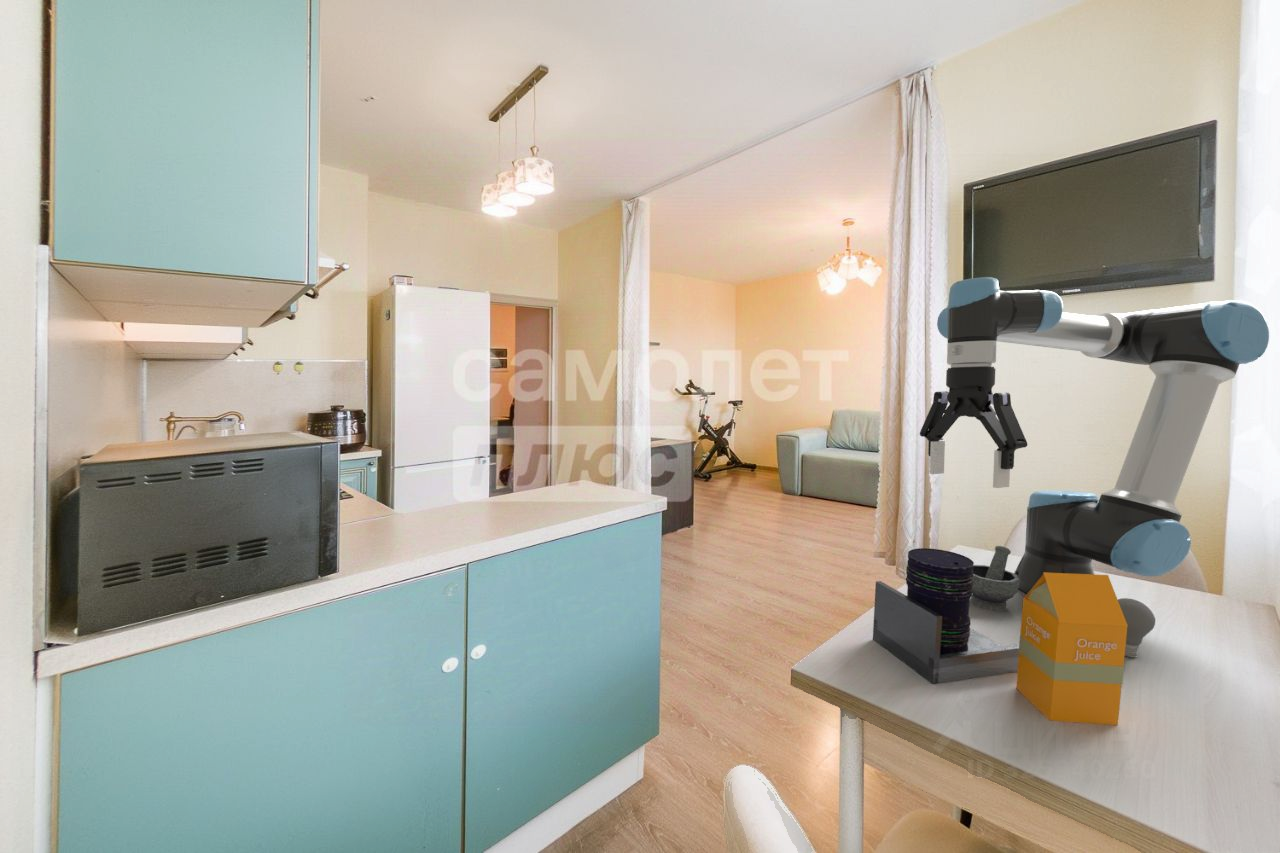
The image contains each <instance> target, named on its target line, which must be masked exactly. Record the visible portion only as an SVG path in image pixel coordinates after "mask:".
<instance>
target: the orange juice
mask: <svg viewBox="0 0 1280 853" xmlns="http://www.w3.org/2000/svg"><path fill="white" fill-rule="evenodd" d="M1043 573H1044V574H1043V575H1042V576H1041V578H1040V579H1039V580H1038V581H1037V583H1036V584H1035V585H1034V586H1033V588H1032V589H1031V590H1030V591H1029V593H1026V595H1025V596H1024V597H1023V598H1022V611H1021V612H1022V613H1021V624H1020V635H1019V642H1018V646H1019V660H1018V671H1017V673H1016V674H1017V676H1016V677H1017V678H1016V687H1015V688H1016V690H1017V691H1019V692H1020V693H1021V694H1022V696H1024V697H1025V698H1026V699H1027V701H1029V702H1030V703H1031V704H1032V705H1033V706H1034V707H1036V709H1037V710H1039V711H1040V712H1041V713H1042V714H1043V715H1044V716H1045V717H1046V718H1047V719H1048V720H1049V721H1051V722H1052V721H1053V722H1067V723H1069V722H1070V723H1079V724H1081V723H1082V724H1083V723H1084V724H1094V725H1095V724H1097V725H1107V726H1108V725H1111V726H1112V725H1113V726H1118V725H1119V715H1120V706H1121V694H1122V685H1123V682H1124V671H1125V666H1124V665H1125V657H1126V656H1125V646H1126V636H1127V626H1128V625H1127V623H1126V620H1125V618H1124V615H1123V612H1122V610H1121V607H1120V605H1119V602H1118V597H1117V595H1116V592H1115V589H1114V587H1113V585H1112V584H1113V583H1112V582H1111V579H1110V577H1109V574H1095V573H1094V574H1095V575H1094V574H1070V573H1047V572H1043Z"/></svg>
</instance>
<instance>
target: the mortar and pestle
mask: <svg viewBox="0 0 1280 853" xmlns="http://www.w3.org/2000/svg"><path fill="white" fill-rule="evenodd" d="M994 550H995V551H994V554H993V557H992V559H991V562H990V565H985V564H983V565H982V564H974V568H973V578H974V579H973V586H972V590H973V593H972V596H971V598H970V601H971V603H972V604H973V605H975V606H977V607H979V608H982V609H985V610H989V611H996V612H997V611H1000V612H1002V611H1005V610H1006V609H1007V601H1008V600H1010V599H1012V598H1013V597H1014V596H1016V594H1017V593H1018V592H1019V589H1018V587H1019V580H1020V579H1019V578H1018V577H1017V576H1016V575H1015V574H1014V572H1012V571H1009V570H1006V567H1007V562H1008V558H1009V555H1010V554H1011V553H1012V552H1011V551H1012V550H1010V549H1009V548H1007V547H1005V546H1002V545H996V546H994Z"/></svg>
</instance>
